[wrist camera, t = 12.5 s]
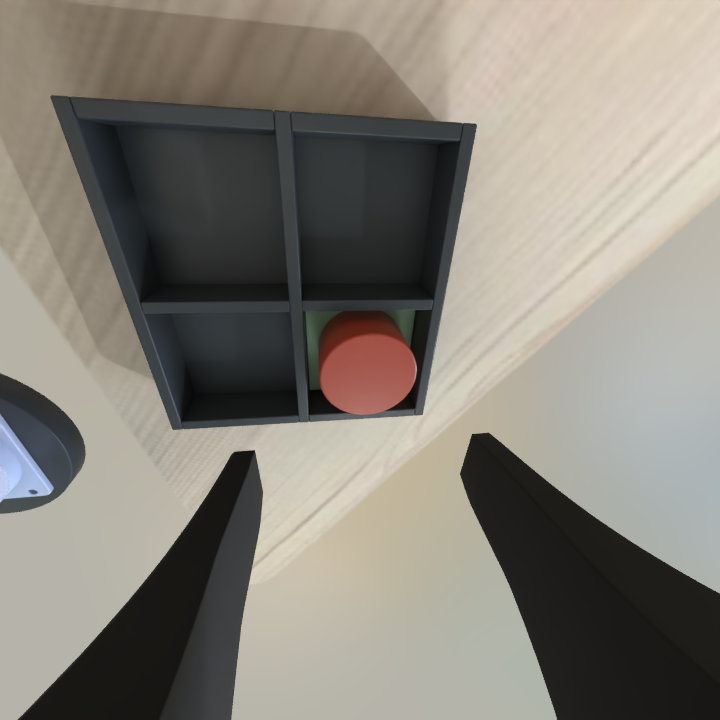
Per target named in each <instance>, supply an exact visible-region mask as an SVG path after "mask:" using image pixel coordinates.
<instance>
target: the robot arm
mask: <svg viewBox="0 0 720 720" xmlns="http://www.w3.org/2000/svg"><path fill="white" fill-rule="evenodd" d="M460 475H461V478H462V481H463V484H464V488H465V490H466V493H467V496H468V499H469V501H470V504H471V506H472V508H473V510H474V513H475V515H476V517H477V519H478V521H479V523H480V525H481V527H482V529H483V531H484V533H485V535H486V537H487V539H488V541H489V543H490V545H491V547H492V549H493V552H494V554H495V556H496V558H497V560H498V562H499V564H500V566H501V568H502V570H503V572H504V574H505V576H506V579H507V581H508V583H509V585H510V588H511V590H512V593H513V595H514V598H515V601H516V603H517V606H518V608H519V611H520V613H521V616H522V619H523V621H524V624H525V626H526V629H527V632H528V635H529V638H530V640H531V643H532V646H533V649H534V651H535V654H536V656H537V660H538V662H539V665H540V668H541V671H542V674H543V677H544V680H545V683H546V686H547V689H548V692H549V695H550V698H551V701H552V704H553V707H554V710H555V713H556V717H557V720H720V594H719V593H717V592H716V591H714V590H712V589H710V588H708V587H706V586H705V585H703V584H701V583H699V582H697V581H696V580H694V579H692V578H690V577H689V576H687V575H685V574H683V573H682V572H680V571H678V570H676V569H675V568H673V567H671V566H670V565H668V564H666V563H665V562H663V561H661V560H660V559H658V558H657V557H655V556H653V555H651V554H650V553H648V552H647V551H645V550H643V549H642V548H640V547H639V546H637V545H635V544H634V543H632V542H631V541H629V540H628V539H626V538H625V537H623V536H622V535H620V534H619V533H617V532H616V531H614V530H613V529H611V528H609V527H608V526H607V525H605V524H604V523H602V522H601V521H599V520H598V519H596V518H595V517H593V516H592V515H591V514H589V513H588V512H587V511H585V510H584V509H583V508H581V507H580V506H578V505H577V504H576V503H575V502H573V501H572V500H571V499H569V498H568V497H567V496H565V495H564V494H563V493H561V492H560V491H559V490H558V489H556V488H555V487H554V486H552V485H551V484H550V483H549V482H547V481H546V480H545V479H544V478H542V477H541V476H540V475H539V474H538V473H536V472H535V471H534V470H533V469H531V468H530V467H529V466H528V465H527V464H525V463H524V462H523V461H522V460H521V459H520V458H518V457H517V456H516V455H515V454H514V453H512V452H511V451H510V450H509V449H508V448H507V447H505V446H504V445H503V444H502V443H501V442H499V441H498V440H497V439H496V438H495V437H493V436H492V435H491V434H490V433H482V434H472V436H471V440H470V443H469V447H468V450H467V453H466V456H465V459H464V463H463V466H462V469H461V473H460ZM53 489H54V488H53V485H52V484H51V483H50V481H49V480H48V479H47V477H46V476H45V474H44V473H43V472H42V470H41V469H40V468H39V466H38V465H37V464H36V462H35V461H34V459H33V458H32V457H31V455H30V454H29V453H28V451H27V450H26V448H25V447H24V446H23V444H22V443H21V442H20V440H19V439H18V437H17V436H16V435H15V433H14V432H13V431H12V429H11V428H10V427H9V425H8V424H7V422H6V421H5V420H4V418H3V417H2V416H1V414H0V502H1V501H2V500H3V499H9V498H22V497H34V496H45V495H49V494H50V493H51V492H52V491H53ZM262 498H263V490H262V485H261V479H260V474H259V469H258V464H257V459H256V454H255V450H253V451H239V452H234V453H233V454H232V455H231V456H230V458H229V460H228V462H227V464H226V465H225V467H224V469H223V470H222V472H221V474H220V476H219V477H218V479H217V480H216V482H215V484H214V485H213V487H212V489H211V490H210V492H209V493H208V495H207V496H206V498H205V499H204V501H203V502H202V504H201V505H200V507H199V508H198V510H197V511H196V513H195V514H194V516H193V517H192V519H191V520H190V522H189V523H188V525H187V526H186V528H185V529H184V530H183V532H182V533H181V535H180V536H179V537H178V538H177V540H176V541H175V543H174V544H173V545H172V547H171V548H170V549H169V551H168V552H167V554H166V555H165V556H164V557H163V559H162V560H161V561H160V563H159V564H158V565H157V566H156V568H155V569H154V570H153V572H152V573H151V574H150V575H149V577H148V578H147V579H146V580H145V582H144V583H143V584H142V585H141V586H140V587H139V589H138V590H137V591H136V593H135V594H134V595H133V596H132V597H131V599H130V600H129V601H128V602H127V603H126V604H125V605H124V606H123V608H122V609H121V610H120V611H119V612H118V613H117V615H116V616H115V617H114V618H113V619H112V620H111V621H110V623H109V624H108V625H107V626H106V627H105V628H104V629H103V631H102V632H101V633H100V634H99V635H98V636H97V637H96V638H95V639H94V641H93V642H92V643H91V644H90V645H89V646H88V647H87V648H86V649H85V650H84V652H83V653H82V654H81V655H80V656H79V657H78V658H77V659H76V660H75V661H74V662H73V663H72V664H71V665H70V666H69V667H68V668H67V669H66V670H65V672H63V674H62V675H61V676H60V677H59V678H58V679H57V680H56V681H55V682H54V683H53V684H52V685H51V686H50V687H49V688H48V689H47V690H46V691H45V692H44V694H42V695H41V696H40V698H39V699H38V700H37V701H36V702H35V703H34V704H33V705H32V706H31V707H30V708H29V709H28V710H27V711H26V712H25V713H24V714H23V715H22V716H21V717H20V718H19V719H18V720H231V715H232V705H233V696H234V686H235V676H236V667H237V658H238V649H239V641H240V632H241V624H242V618H243V611H244V606H245V601H246V595H247V590H248V585H249V580H250V575H251V570H252V565H253V560H254V555H255V549H256V544H257V539H258V534H259V528H260V520H261V510H262Z"/></svg>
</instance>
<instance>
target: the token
mask: <svg viewBox="0 0 720 720" xmlns="http://www.w3.org/2000/svg"><path fill="white" fill-rule="evenodd" d="M318 354H319V380H320V386H321V389H322V391H323V394H324V395H325V397H326V398H327V399H328V400H329V401H330V403H332V404H333V405H334V406H335V407H337V408H339V409H340V410H343V411H345V412H348V413H352V414H359V415H368V414H375V413H379V412H382V411H385V410H387V409H390V408H391V407H393V406H395V405H396V404H398V403H399V402H400V401H401V400H403V399H404V398H405V397H406V395H407V394H408V393H409V392H410V390H411V388H412V386H413V384H414V382H415V378H416V372H417V367H416V361H415V358H414V355H413V353H412V351H411V349H410V348H409V346H408V344H407V342H406V340H405V338H404V336H403V334H402V333H401V331H400V329H399V327H398V325H397V324H396V322H395V321H394V320H393V319H392V318H391V317H390V316H389V315H388V314H386V313H385V312H383V311H343V312H340V313H339V314H337V315H336V316H334V317H333V318H332V319H331V320H330V321H329V322H328V323H327V324H326V325H325V327H324V328H323V330H322V332H321V335H320V337H319V342H318Z"/></svg>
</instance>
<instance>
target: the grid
mask: <svg viewBox="0 0 720 720" xmlns="http://www.w3.org/2000/svg"><path fill="white" fill-rule="evenodd" d="M51 100H52V103H53V105H54V108H55V111H56V114H57V116H58V119H59V122H60V124H61V127H62V130H63V133H64V135H65V138H66V141H67V143H68V146H69V149H70V152H71V154H72V157H73V160H74V162H75V165H76V168H77V171H78V173H79V176H80V179H81V182H82V184H83V187H84V190H85V192H86V195H87V198H88V201H89V203H90V206H91V209H92V211H93V214H94V217H95V220H96V222H97V225H98V228H99V230H100V233H101V236H102V239H103V241H104V244H105V247H106V249H107V252H108V255H109V258H110V260H111V263H112V266H113V269H114V271H115V274H116V277H117V279H118V282H119V285H120V288H121V290H122V293H123V296H124V298H125V301H126V304H127V307H128V309H129V312H130V315H131V317H132V320H133V323H134V326H135V328H136V331H137V334H138V336H139V339H140V342H141V345H142V347H143V350H144V353H145V356H146V358H147V361H148V364H149V366H150V369H151V372H152V375H153V377H154V380H155V383H156V385H157V388H158V391H159V394H160V396H161V399H162V402H163V404H164V407H165V410H166V413H167V415H168V418H169V421H170V423H171V426H172V429H173V430H179V429H196V428H213V427H229V426H246V425H263V424H280V423H297V422H309V421H310V422H313V421H330V420H347V419H364V418H381V417H398V416H413V415H423V410H424V405H425V400H426V394H427V389H428V384H429V378H430V373H431V368H432V362H433V357H434V352H435V346H436V341H437V336H438V330H439V325H440V320H441V314H442V309H443V304H444V298H445V293H446V288H447V282H448V277H449V272H450V266H451V261H452V256H453V250H454V245H455V240H456V234H457V229H458V224H459V218H460V213H461V208H462V202H463V197H464V192H465V186H466V181H467V176H468V170H469V165H470V160H471V154H472V149H473V144H474V138H475V133H476V128H477V125H476V124H470V123H463V124H462V123H456V122H441V121H426V120H411V119H396V118H381V117H366V116H352V115H337V114H322V113H307V112H291V114H290V112H289V111H278V110H275V111H274V112H273V111H272V110H262V109H248V108H233V107H218V106H203V105H188V104H173V103H158V102H144V101H129V100H114V99H99V98H84V97H68V96H54V95H52V96H51ZM343 311H383V312H385V313H386V314H388V315H389V316H390V317H391V318H392V319H393V320H394V321H395V322H396V324H397V325H398V327H399V329H400V331H401V333H402V334H403V336H404V338H405V340H406V342H407V344H408V346H409V348H410V349H411V351H412V353H413V355H414V358H415V361H416V367H417V372H416V378H415V382H414V384H413V386H412V388H411V390H410V392H409V393H408V394H407V395H406V397H405V398H404V399H403V400H401V401H400V402H399V403H398V404H396V405H395V406H393V407H391V408H390V409H387V410H385V411H382V412H379V413H375V414H368V415H359V414H352V413H348V412H345V411H343V410H340V409H339V408H337V407H335V406H334V405H333V404H332V403H330V401H329V400H328V399H327V398H326V397H325V395H324V394H323V391H322V389H321V386H320V380H319V354H318V342H319V337H320V335H321V332H322V330H323V328H324V327H325V325H326V324H327V323H328V322H329V321H330V320H331V319H332V318H333V317H334V316H336V315H337V314H339V313H340V312H343Z"/></svg>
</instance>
